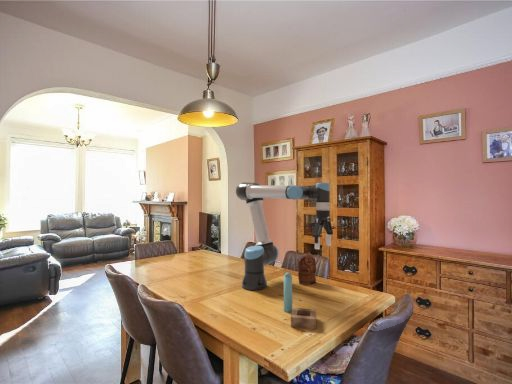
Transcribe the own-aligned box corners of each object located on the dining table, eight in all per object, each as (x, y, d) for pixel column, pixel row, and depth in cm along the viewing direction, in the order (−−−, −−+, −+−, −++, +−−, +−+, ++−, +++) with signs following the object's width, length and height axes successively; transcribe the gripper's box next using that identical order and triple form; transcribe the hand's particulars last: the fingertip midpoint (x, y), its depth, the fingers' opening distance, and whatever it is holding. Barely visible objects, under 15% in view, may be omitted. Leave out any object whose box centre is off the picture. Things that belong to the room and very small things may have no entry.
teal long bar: (283, 311, 126) (282, 273, 127) (284, 308, 130) (284, 271, 131) (291, 312, 126) (291, 273, 126) (292, 309, 129) (292, 271, 130)
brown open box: (290, 326, 112) (290, 317, 112) (293, 316, 121) (293, 307, 121) (315, 329, 109) (315, 319, 109) (316, 318, 119) (316, 309, 119)
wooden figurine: (304, 286, 163) (304, 256, 164) (297, 283, 168) (296, 254, 169) (318, 282, 170) (317, 253, 170) (310, 280, 175) (310, 252, 175)
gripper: (318, 210, 142) (318, 251, 142) (338, 209, 161) (338, 245, 160) (305, 210, 147) (305, 249, 147) (327, 208, 166) (327, 243, 165)
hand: (323, 247), depth 153 cm, fingers open, 13 cm apart
